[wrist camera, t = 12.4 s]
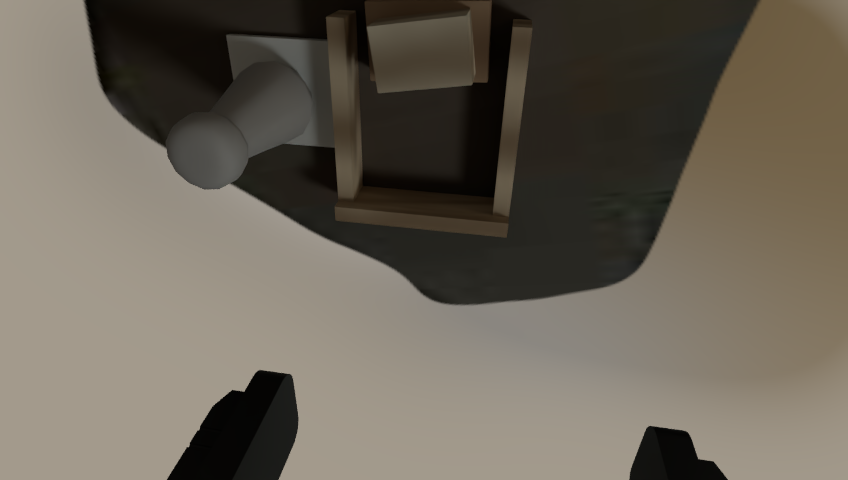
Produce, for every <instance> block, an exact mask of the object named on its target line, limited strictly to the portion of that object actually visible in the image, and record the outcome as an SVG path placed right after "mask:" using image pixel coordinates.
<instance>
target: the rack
mask: <svg viewBox="0 0 848 480" xmlns="http://www.w3.org/2000/svg"><path fill="white" fill-rule="evenodd" d="M326 24H327V39H328V54H329V69H330V83H331V98H332V113H333V127H334V142H335V157H336V171H337V186H338V203H337V204H336V206H335V217H336V221H346V222H356V223H366V224H376V225H386V226H396V227H406V228H416V229H426V230H436V231H446V232H456V233H466V234H476V235H486V236H496V237H506V238H507V231H508V221H509V210H510V202H511V194H512V186H513V178H514V170H515V162H516V154H517V146H518V139H519V131H520V123H521V115H522V107H523V99H524V91H525V83H526V75H527V67H528V59H529V51H530V43H531V35H532V21H531V20H523V19H513V26H512V35H511V45H510V54H509V63H508V73H507V82H506V92H505V101H504V110H503V120H502V129H501V138H500V148H499V157H498V167H497V176H496V185H495V195H494V198H492V197H481V196H470V195H459V194H448V193H437V192H426V191H415V190H404V189H393V188H382V187H371V186H363V172H362V147H361V122H360V97H359V71H358V46H357V21H356V11H349V10H338V11H336V12H334V13H333V14H331V15H329V16H327V17H326Z"/></svg>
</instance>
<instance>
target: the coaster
mask: <svg viewBox="0 0 848 480" xmlns="http://www.w3.org/2000/svg"><path fill="white" fill-rule="evenodd" d="M226 38H227V44H228V50H229V56H230V62H231V68H232V74H233V80H235V78H236V77H237V76H238V75H239V73H240V72H241V71H243V70H244V69H246V68H247V67H249V66H250V65H252V64H253V63H256V62H269V61H275V62H278V63H280V64H282V65H285V66H287V67H290V68H292V69H295V70H297V71H298V73H299V74H300V76H301V77H302V79H303V80H304V81H305V83H306V85H307V87H308V88H309V90H310V91H311V93H312V99H313V105H312V118H311V120H310V122H309V123H308V125H307V127H306V129H305V131H304V133H303V134H302V135H300V136H298V137H296V138H294V139H292V140H290V141H288V142H286V143H284V144H296V145H308V146H320V147H332V148H335V142H334V127H333V113H332V98H331V83H330V69H329V54H328V39H312V38H295V37H278V36H261V35H244V34H228V35H226Z"/></svg>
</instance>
